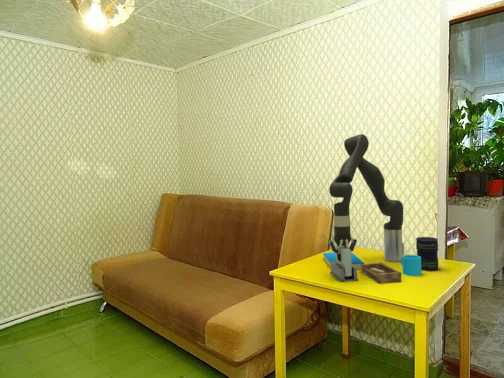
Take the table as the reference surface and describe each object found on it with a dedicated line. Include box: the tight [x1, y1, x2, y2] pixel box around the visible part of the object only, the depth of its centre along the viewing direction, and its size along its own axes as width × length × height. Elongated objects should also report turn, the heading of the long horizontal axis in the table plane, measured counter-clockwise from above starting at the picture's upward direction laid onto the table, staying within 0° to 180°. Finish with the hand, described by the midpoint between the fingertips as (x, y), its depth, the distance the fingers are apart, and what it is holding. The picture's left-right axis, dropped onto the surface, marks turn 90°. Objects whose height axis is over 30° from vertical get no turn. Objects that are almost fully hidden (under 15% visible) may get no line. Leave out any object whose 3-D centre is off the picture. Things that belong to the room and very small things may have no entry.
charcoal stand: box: [329, 261, 359, 283], centre depth 168 cm, size 8×14×6 cm, turn 7°
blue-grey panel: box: [334, 244, 352, 276], centre depth 168 cm, size 3×12×12 cm, turn 7°
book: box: [322, 251, 365, 271], centre depth 192 cm, size 17×4×25 cm
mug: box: [400, 254, 422, 277], centre depth 171 cm, size 12×8×8 cm
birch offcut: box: [370, 268, 384, 274], centre depth 166 cm, size 2×7×2 cm, turn 24°
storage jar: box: [415, 236, 439, 272], centre depth 176 cm, size 10×10×15 cm
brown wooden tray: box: [361, 262, 402, 284], centre depth 166 cm, size 10×18×4 cm, turn 7°
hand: (343, 260), depth 168 cm, fingers closed on blue-grey panel, 3 cm apart
